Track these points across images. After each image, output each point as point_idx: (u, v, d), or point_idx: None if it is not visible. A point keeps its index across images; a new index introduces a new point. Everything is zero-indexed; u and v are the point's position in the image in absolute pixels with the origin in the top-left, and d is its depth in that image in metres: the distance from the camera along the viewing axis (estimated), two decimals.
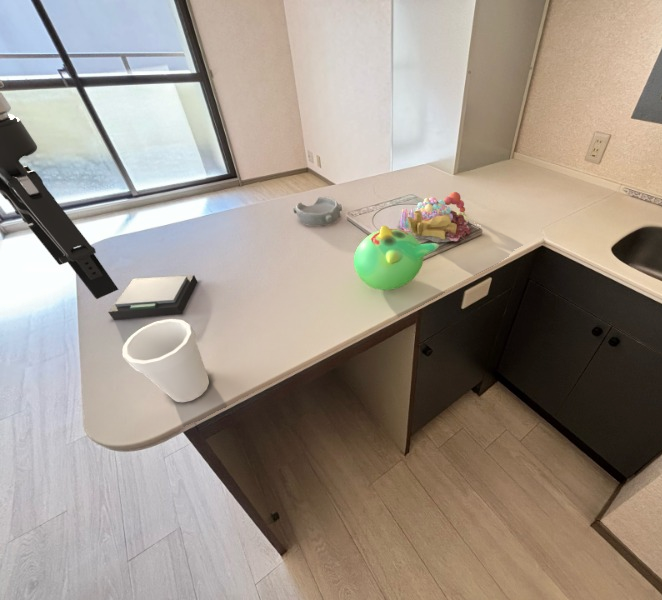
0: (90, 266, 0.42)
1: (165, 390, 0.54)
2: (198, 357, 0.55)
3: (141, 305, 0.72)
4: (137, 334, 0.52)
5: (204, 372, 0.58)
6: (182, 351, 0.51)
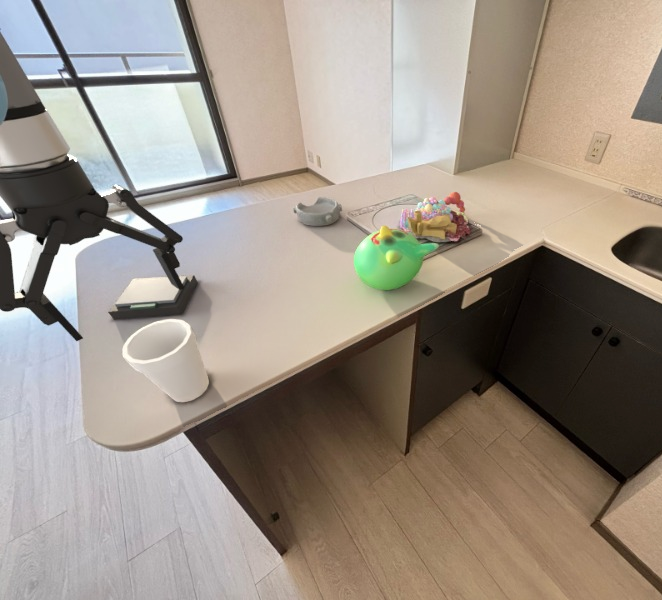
0: None
1: (165, 390, 0.54)
2: (198, 357, 0.55)
3: (141, 305, 0.72)
4: (137, 334, 0.52)
5: (204, 372, 0.58)
6: (182, 351, 0.51)
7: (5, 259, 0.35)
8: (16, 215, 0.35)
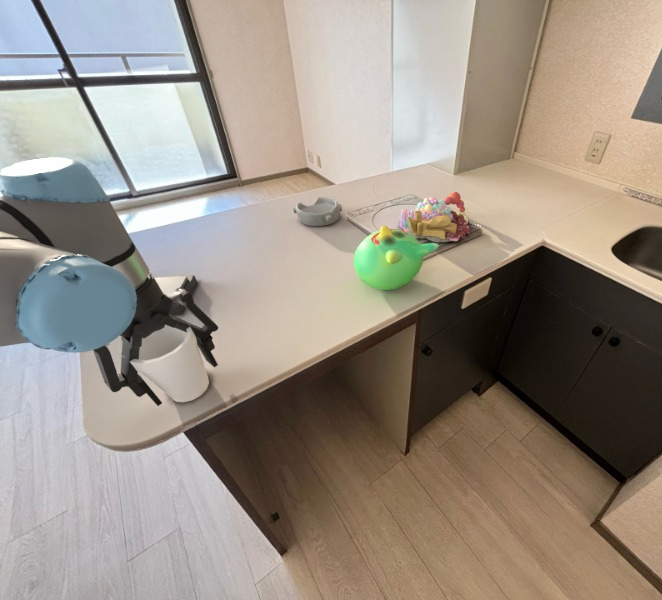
0: None
1: (165, 390, 0.54)
2: (198, 357, 0.55)
3: None
4: None
5: (204, 372, 0.58)
6: (182, 351, 0.51)
7: (107, 358, 0.45)
8: None
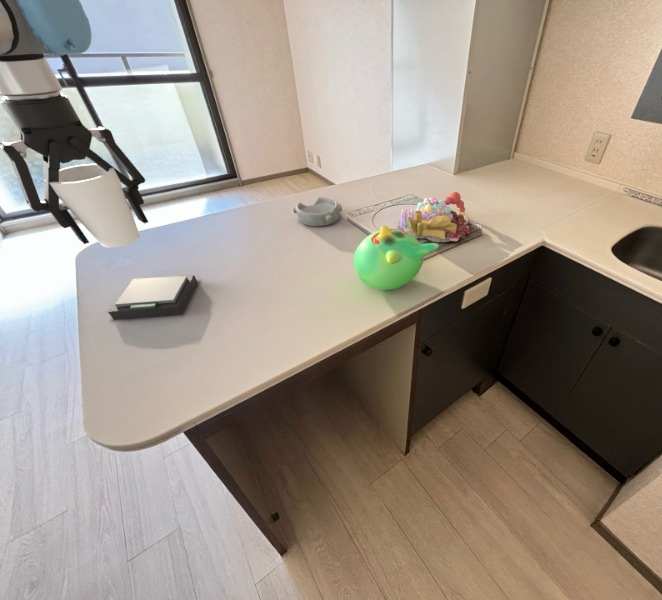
0: None
1: (91, 228, 0.58)
2: (123, 201, 0.60)
3: (141, 305, 0.72)
4: (62, 170, 0.56)
5: (132, 222, 0.62)
6: (102, 182, 0.55)
7: (25, 170, 0.50)
8: (23, 134, 0.48)
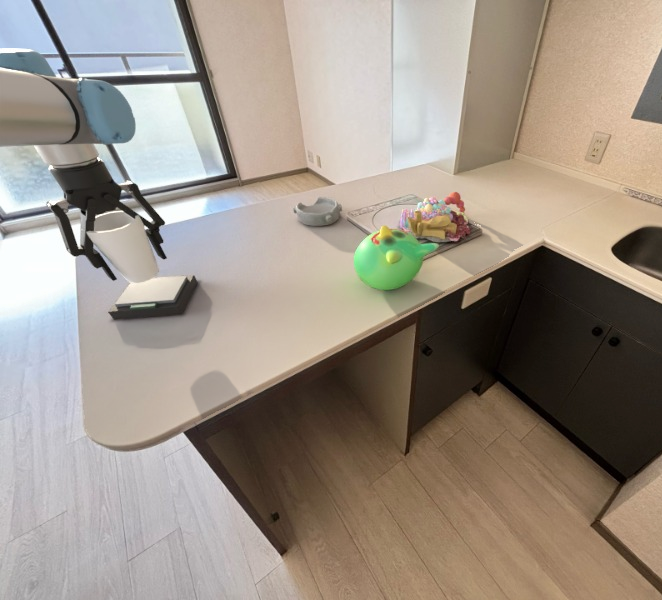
0: None
1: (119, 267, 0.67)
2: (146, 242, 0.68)
3: (141, 305, 0.72)
4: (95, 218, 0.65)
5: (153, 259, 0.71)
6: (130, 229, 0.63)
7: (67, 224, 0.58)
8: (66, 194, 0.57)
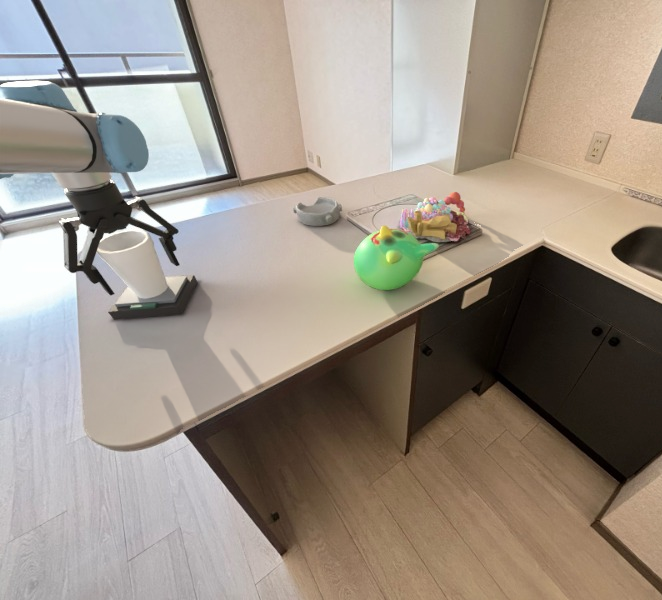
0: None
1: (130, 284, 0.70)
2: (156, 260, 0.71)
3: (141, 305, 0.72)
4: (107, 238, 0.68)
5: (162, 276, 0.74)
6: (141, 248, 0.66)
7: (73, 241, 0.60)
8: (80, 215, 0.59)
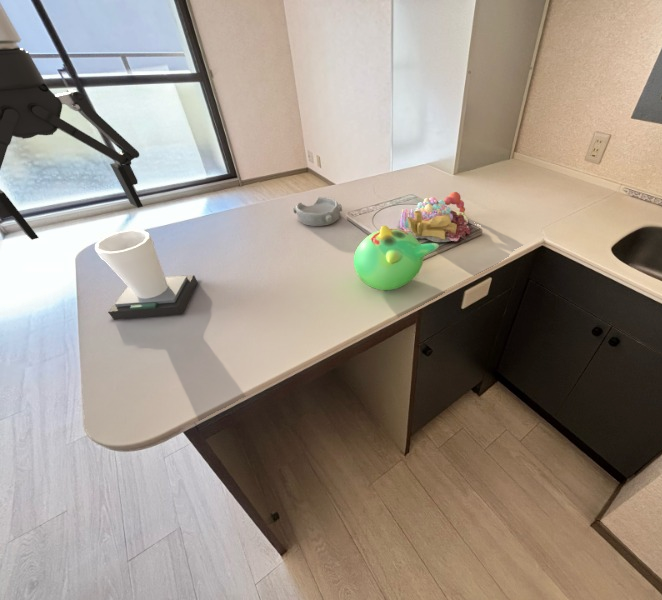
0: None
1: (130, 284, 0.70)
2: (156, 260, 0.71)
3: (141, 305, 0.72)
4: (107, 238, 0.68)
5: (162, 276, 0.74)
6: (141, 248, 0.66)
7: None
8: None
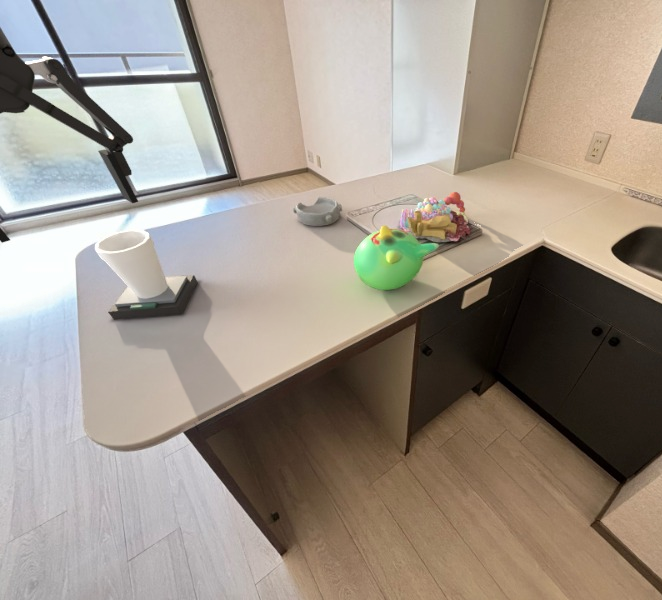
0: None
1: (130, 284, 0.70)
2: (156, 260, 0.71)
3: (141, 305, 0.72)
4: (107, 238, 0.68)
5: (162, 276, 0.74)
6: (141, 248, 0.66)
7: None
8: None
